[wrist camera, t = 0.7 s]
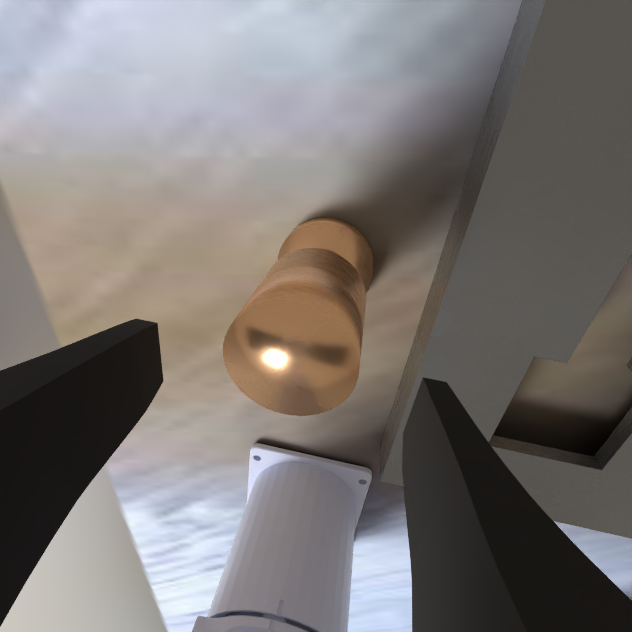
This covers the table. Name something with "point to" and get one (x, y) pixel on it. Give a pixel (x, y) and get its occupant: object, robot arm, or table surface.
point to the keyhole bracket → (537, 250)
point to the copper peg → (304, 322)
